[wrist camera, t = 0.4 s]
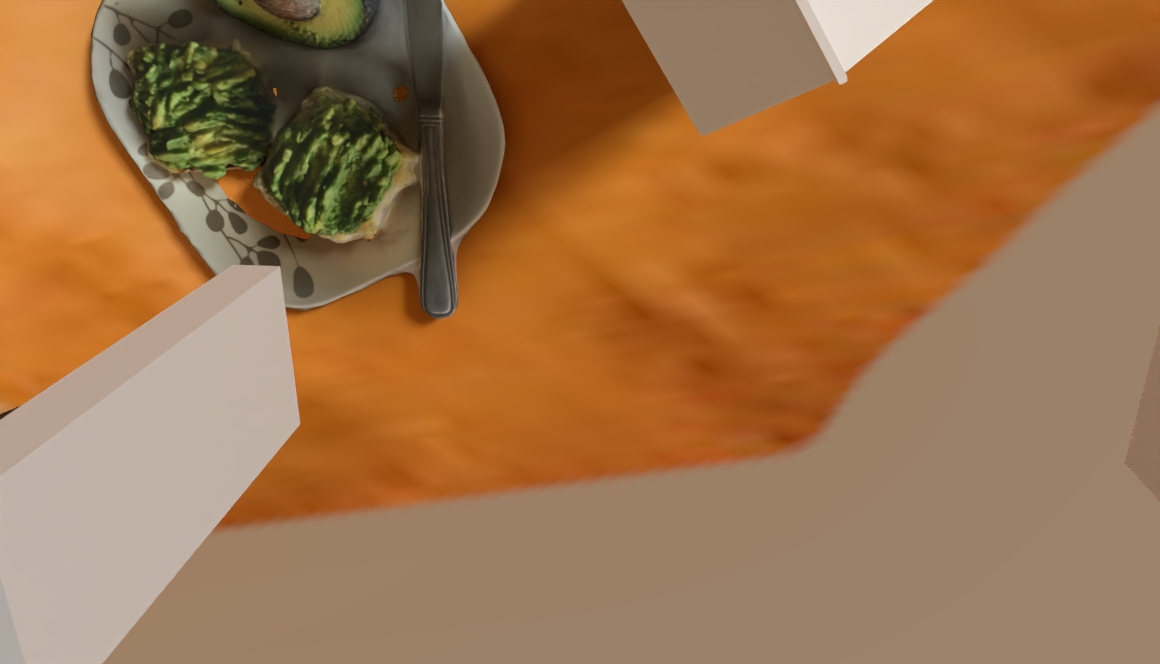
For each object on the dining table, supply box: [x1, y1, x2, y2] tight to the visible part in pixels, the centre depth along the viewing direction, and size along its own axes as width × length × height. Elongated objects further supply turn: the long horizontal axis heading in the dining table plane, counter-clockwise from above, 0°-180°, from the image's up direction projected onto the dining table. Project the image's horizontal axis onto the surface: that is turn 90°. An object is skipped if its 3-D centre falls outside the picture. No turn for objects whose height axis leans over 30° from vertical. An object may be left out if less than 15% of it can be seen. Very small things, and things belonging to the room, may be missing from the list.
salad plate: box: [91, 0, 506, 319], centre depth 39 cm, size 19×18×5 cm
